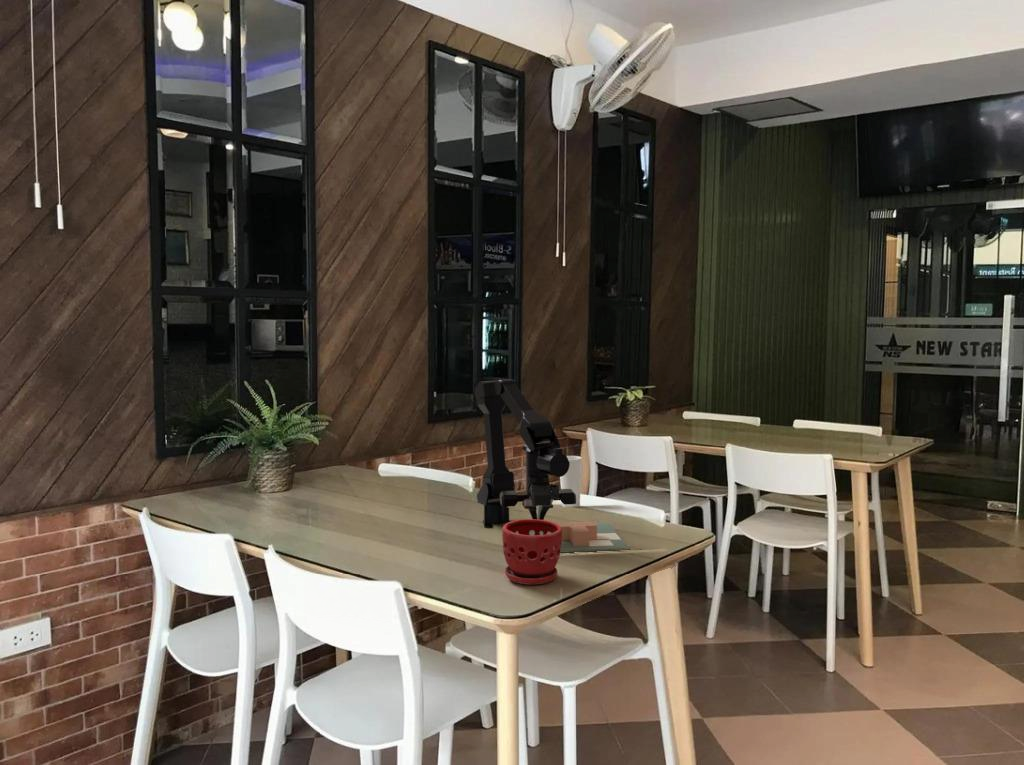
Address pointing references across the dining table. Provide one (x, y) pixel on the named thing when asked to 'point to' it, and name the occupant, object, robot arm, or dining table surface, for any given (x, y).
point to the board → (596, 540)
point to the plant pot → (531, 550)
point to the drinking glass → (573, 479)
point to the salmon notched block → (579, 532)
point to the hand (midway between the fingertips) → (537, 531)
